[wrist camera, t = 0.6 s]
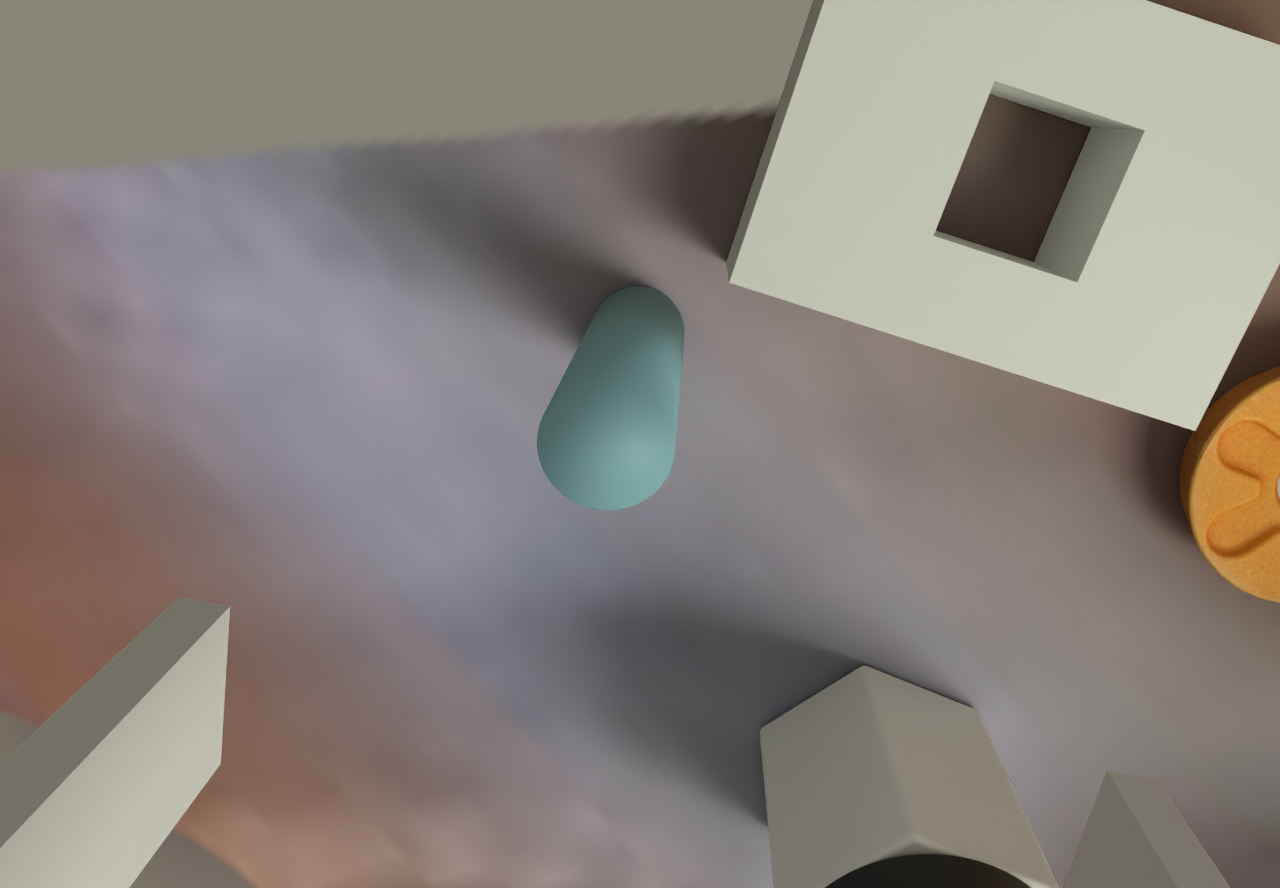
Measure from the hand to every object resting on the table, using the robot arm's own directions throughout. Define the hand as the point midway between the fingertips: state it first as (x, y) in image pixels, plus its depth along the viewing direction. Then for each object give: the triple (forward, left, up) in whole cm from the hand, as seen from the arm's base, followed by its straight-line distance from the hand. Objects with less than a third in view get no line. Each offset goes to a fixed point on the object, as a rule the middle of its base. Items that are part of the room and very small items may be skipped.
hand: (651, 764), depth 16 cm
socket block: (+7, +10, -20) cm, 24 cm away
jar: (+11, -11, -20) cm, 26 cm away
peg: (-2, +2, -20) cm, 20 cm away
